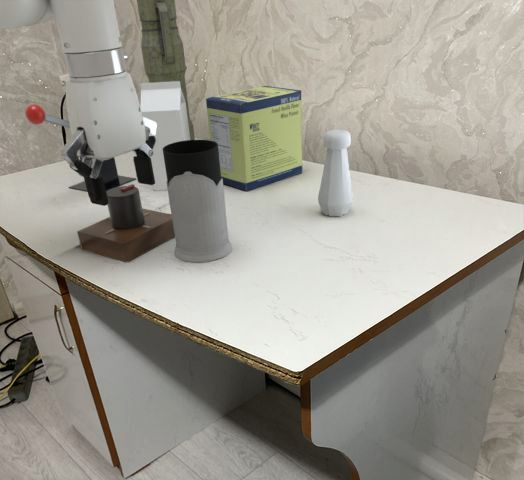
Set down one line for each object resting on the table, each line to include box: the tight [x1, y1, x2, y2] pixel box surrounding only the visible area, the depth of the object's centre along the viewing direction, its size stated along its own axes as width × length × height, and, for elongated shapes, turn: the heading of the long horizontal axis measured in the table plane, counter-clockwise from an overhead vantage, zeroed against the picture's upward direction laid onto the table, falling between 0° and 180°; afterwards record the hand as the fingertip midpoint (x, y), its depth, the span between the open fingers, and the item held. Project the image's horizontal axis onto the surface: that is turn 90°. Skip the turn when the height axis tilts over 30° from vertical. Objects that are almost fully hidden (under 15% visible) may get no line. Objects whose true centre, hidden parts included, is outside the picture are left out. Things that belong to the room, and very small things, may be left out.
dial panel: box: [76, 207, 175, 263], centre depth 84 cm, size 12×10×3 cm
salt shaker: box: [317, 129, 354, 217], centre depth 87 cm, size 6×6×13 cm
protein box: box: [205, 85, 303, 192], centre depth 104 cm, size 10×16×16 cm
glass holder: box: [163, 139, 233, 263], centre depth 79 cm, size 9×14×15 cm, turn 177°
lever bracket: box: [68, 157, 137, 193], centre depth 105 cm, size 10×9×13 cm
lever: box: [24, 103, 70, 129], centre depth 97 cm, size 15×3×3 cm, turn 147°
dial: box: [106, 183, 145, 229], centre depth 82 cm, size 5×5×5 cm
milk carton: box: [139, 81, 190, 192], centre depth 100 cm, size 7×7×19 cm
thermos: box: [136, 0, 196, 140], centre depth 116 cm, size 9×12×35 cm
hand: (124, 193), depth 80 cm, fingers open, 9 cm apart
